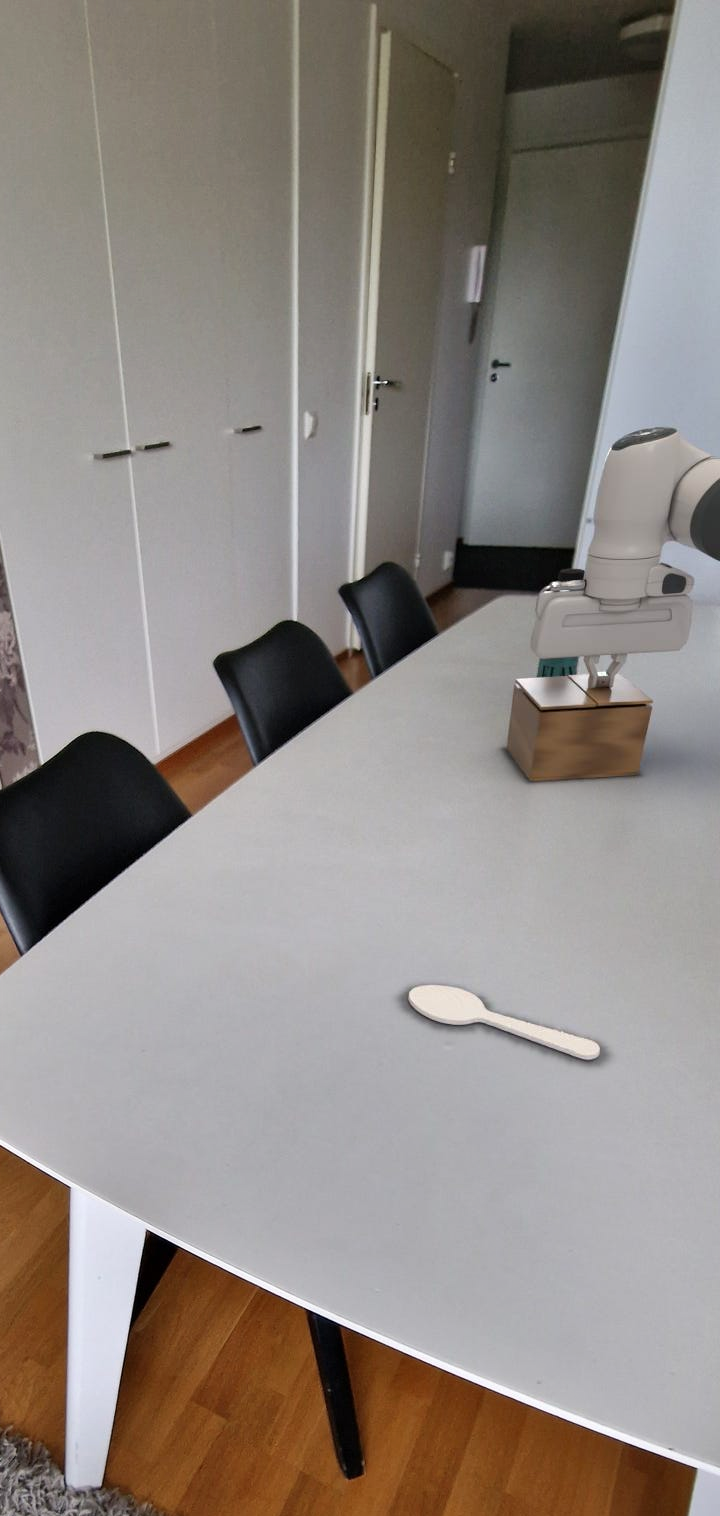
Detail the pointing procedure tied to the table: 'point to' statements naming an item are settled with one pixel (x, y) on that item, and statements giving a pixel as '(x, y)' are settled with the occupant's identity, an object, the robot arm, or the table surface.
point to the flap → (612, 691)
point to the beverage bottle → (567, 664)
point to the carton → (573, 732)
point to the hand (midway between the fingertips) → (599, 687)
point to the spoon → (492, 1019)
